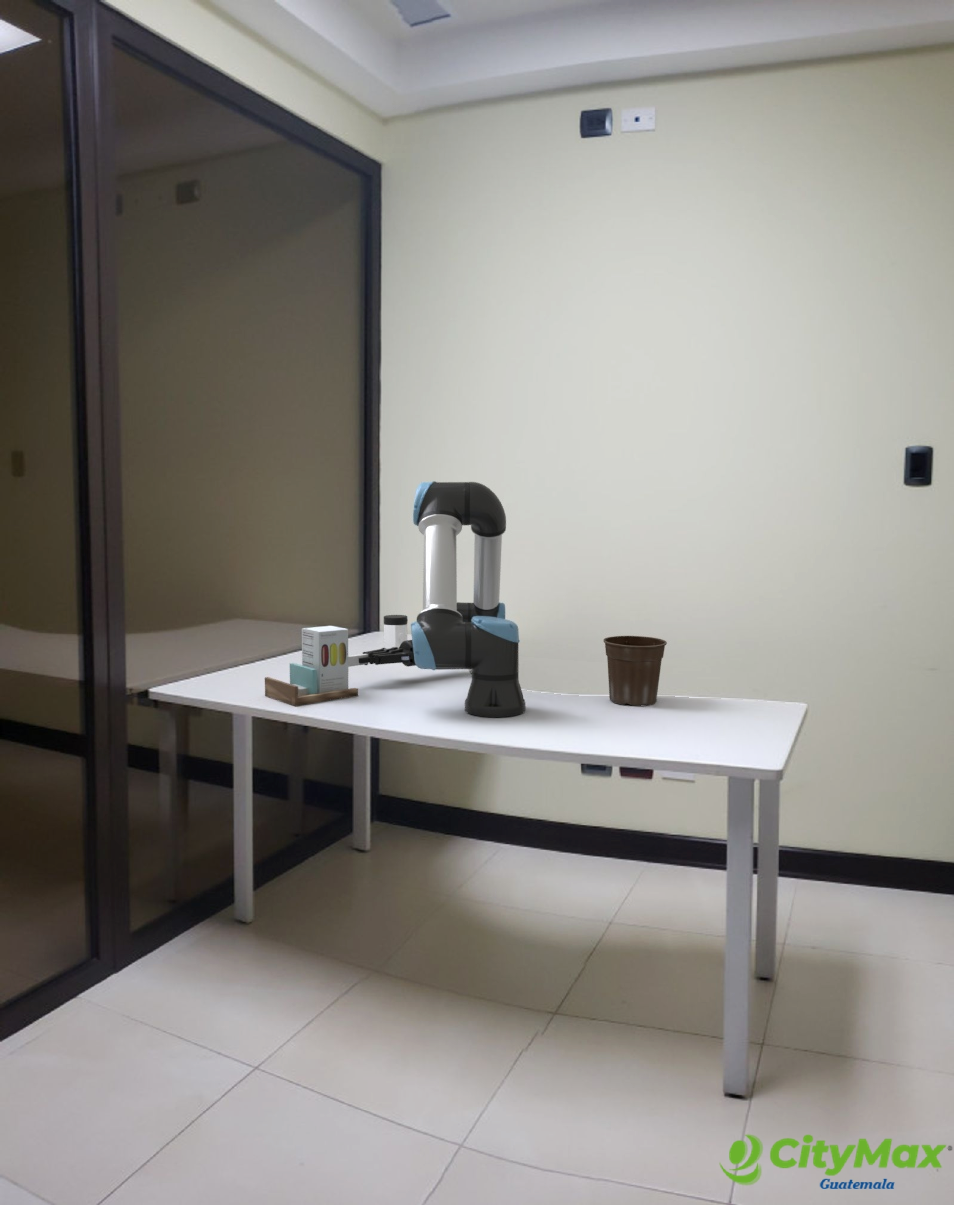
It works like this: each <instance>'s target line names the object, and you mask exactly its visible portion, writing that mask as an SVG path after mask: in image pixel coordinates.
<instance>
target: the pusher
mask: <svg viewBox="0 0 954 1205" xmlns="http://www.w3.org/2000/svg"><path fill="white" fill-rule="evenodd" d="M289 684H292V685H295V686H298V696H304V695H312V694H317V671H316V669H313V668H310V667H306V666H303V665H302V664H298V663H294V662H290V663H289Z"/></svg>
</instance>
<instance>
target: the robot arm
mask: <svg viewBox="0 0 954 1205" xmlns="http://www.w3.org/2000/svg"><path fill="white" fill-rule="evenodd" d="M494 492H495V491H492V490H491V488H489V486H488V487H487V486H486V485H485V484H482V483H480V482H476V481H457V482H454V481H448V482H447V481H445V482H444V481H443V482H440V481H434V480H433V481H427V482H421V483H419V484H418V486H417V487H416V490H415V495H414V501H413V511H412V512H413V513H412V521H413V524H414V526H417V528H418V531H419V533H421V535H422V536H423V571H422V572H423V574H422V575H423V577H422V578H423V580H422V581H423V582H422V610H421V611H420V612H418V614H417V616H416V621H414V622H411V623H410V634H411V639H407V641H403V642H402V643H401V645H400V647H399V648H398V647H392V648H390V649H386V648H384V647H381V648H379V649H374V650H368V651H363V652H362V653H359V654H352V655H348V668H350V667H356V666H363V665H364V666H368V665H376V666H378V665H390V664H402V665H403V666H405V667H415V666H416V667H417V668H418V669H421V670H432V671H436V670H438V671H439V670H471V682H470V685H469V688H468V692H467V696H466V698H465V701H464V711H465V713H466V714H470V715H471V716H473V715H474V716H476V717H485V718H506V717H507V718H509V717H515V716H519V715H522V714H525V712H526V701H525V698H524V695H523V694H524V693H523V691H522V687H521V684H520V681H519V672H520V671H519V669H520V668H519V666H520V664H519V643H520V638H519V637H520V636H519V633H520V632H519V627H518V624H517V623H516V622H514V621H512V620H510V619H506V604H505V603H504V602H500V590H501V588H500V587H501V568H502V567H501V565H502V563H501V562H502V544H503V542H502V540H503V535H504V533H506V529H507V516H506V512H505V509H504V506H503V504H502V502H501V501H500V499H499V497H498V495H496V493H494ZM463 526H470V530H471V531H472V533H473V534H474V544H473V545H474V548H473V549H474V551H473V554H474V556H473V602H459V601H458V600H457V599H458V598H457V597H458V594H457V593H458V592H457V591H458V590H457V589H458V587H457V585H458V584H457V582H458V581H457V578H458V576H457V575H458V573H457V572H458V571H457V567H458V566H457V564H458V563H457V536H458V535H460V533H461V532H462V530H463Z"/></svg>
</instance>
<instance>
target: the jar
mask: <svg viewBox="0 0 954 1205" xmlns="http://www.w3.org/2000/svg"><path fill="white" fill-rule="evenodd" d="M407 640H408V616H407V615H404V614H387V615H384V616H383V648H386V649H390V648H392V647H398V648H399V647H400V645H401V643H402V642H403V641H407Z"/></svg>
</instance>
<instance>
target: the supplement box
mask: <svg viewBox="0 0 954 1205" xmlns="http://www.w3.org/2000/svg"><path fill="white" fill-rule="evenodd" d="M348 656H349V629H348V628H344V627H340V626H336V625H325V626H324V625H323V626H315V627H313V626H312V627H303V628H301V665H303V666H306V667H310V668H313V669H316V671H317V694H318V693H324V692H331V691H337V690H344V689H349V667H348Z"/></svg>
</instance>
